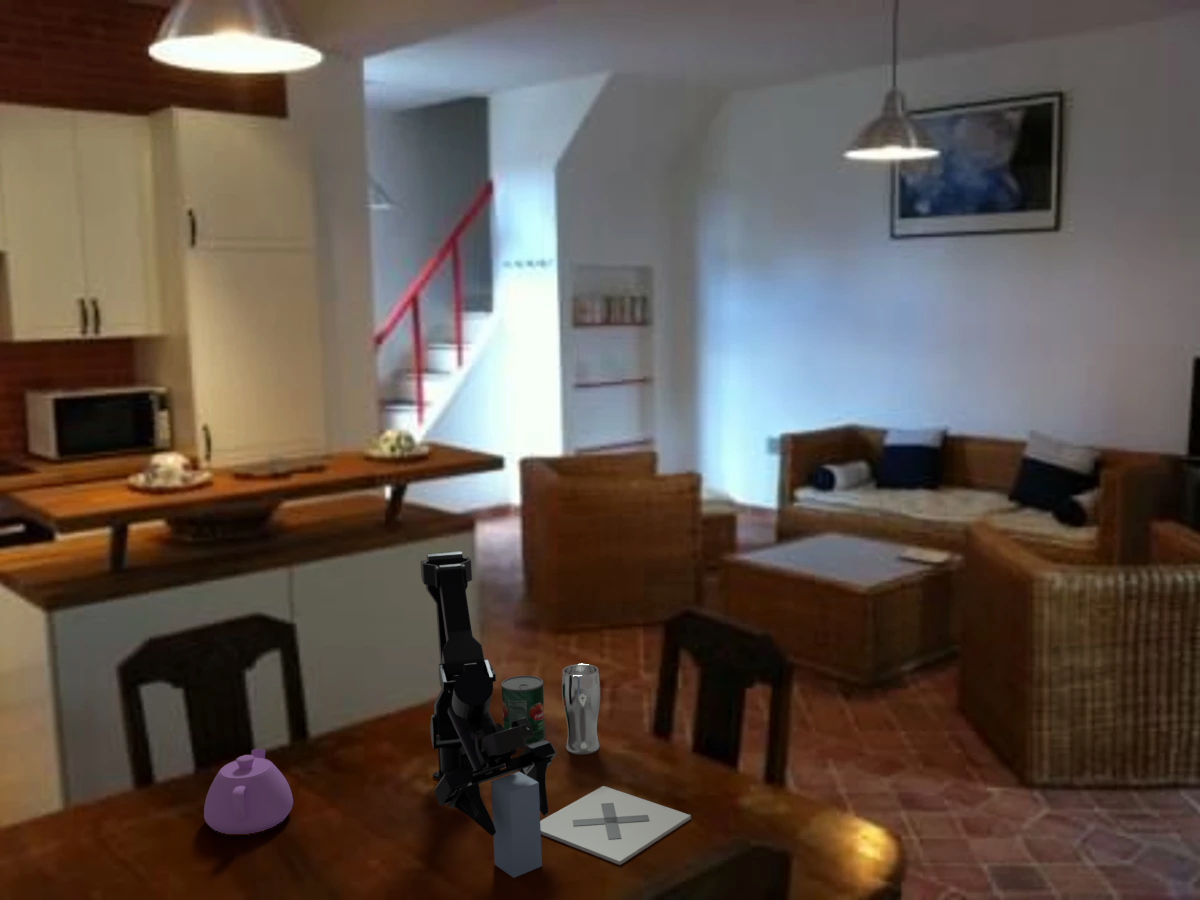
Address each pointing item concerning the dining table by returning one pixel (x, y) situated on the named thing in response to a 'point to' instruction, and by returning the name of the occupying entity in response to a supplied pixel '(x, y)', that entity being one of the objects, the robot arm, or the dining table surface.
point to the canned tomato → (524, 704)
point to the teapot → (248, 796)
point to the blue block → (516, 824)
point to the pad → (612, 824)
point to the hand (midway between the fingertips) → (520, 824)
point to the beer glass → (581, 707)
